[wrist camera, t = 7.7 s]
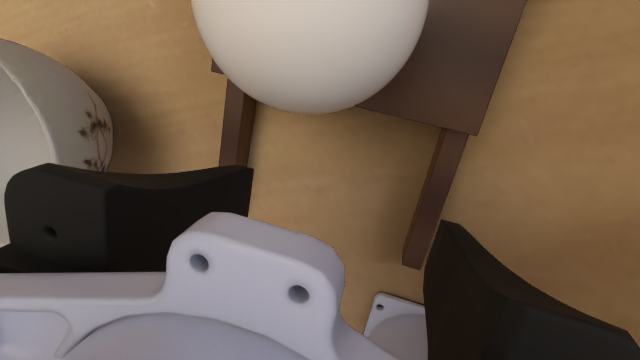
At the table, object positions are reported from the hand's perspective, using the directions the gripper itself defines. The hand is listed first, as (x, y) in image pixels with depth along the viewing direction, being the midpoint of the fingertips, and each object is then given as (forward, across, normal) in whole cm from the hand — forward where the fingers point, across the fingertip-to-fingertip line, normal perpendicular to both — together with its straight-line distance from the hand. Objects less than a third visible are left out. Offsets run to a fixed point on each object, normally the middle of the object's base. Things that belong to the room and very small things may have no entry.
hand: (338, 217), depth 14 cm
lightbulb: (+7, +2, -7) cm, 10 cm away
